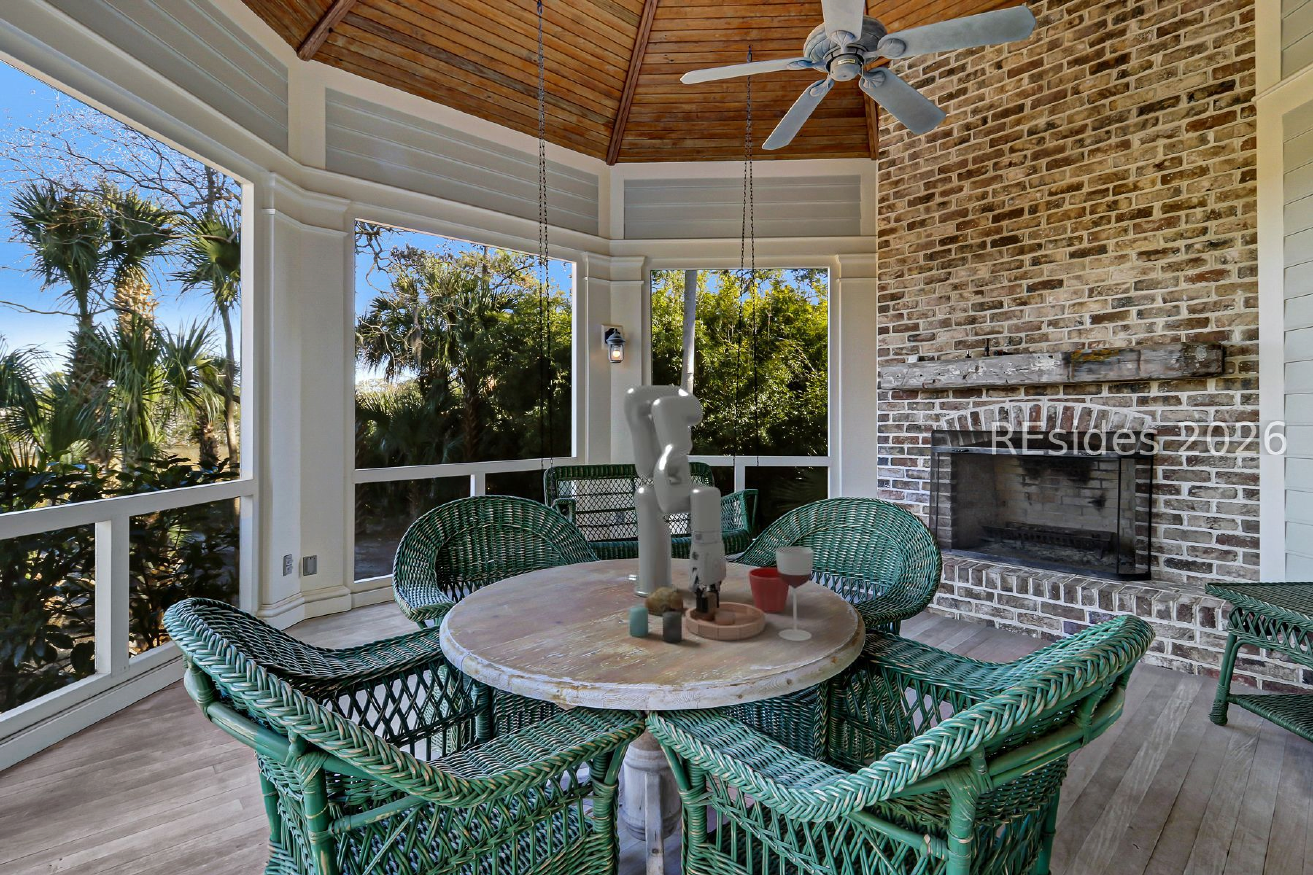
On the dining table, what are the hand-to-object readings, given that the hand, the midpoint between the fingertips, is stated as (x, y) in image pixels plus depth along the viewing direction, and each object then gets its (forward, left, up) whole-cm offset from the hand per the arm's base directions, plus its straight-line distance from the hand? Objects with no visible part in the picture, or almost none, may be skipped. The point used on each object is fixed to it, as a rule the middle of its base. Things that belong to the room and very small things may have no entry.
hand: (707, 608), depth 162 cm
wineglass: (+22, +1, -4) cm, 22 cm away
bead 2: (-2, -15, -3) cm, 15 cm away
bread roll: (-15, +3, -4) cm, 16 cm away
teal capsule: (-11, -15, -3) cm, 19 cm away
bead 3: (0, 0, -2) cm, 2 cm away
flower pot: (+10, +17, -4) cm, 20 cm away
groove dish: (+5, -1, -3) cm, 6 cm away
